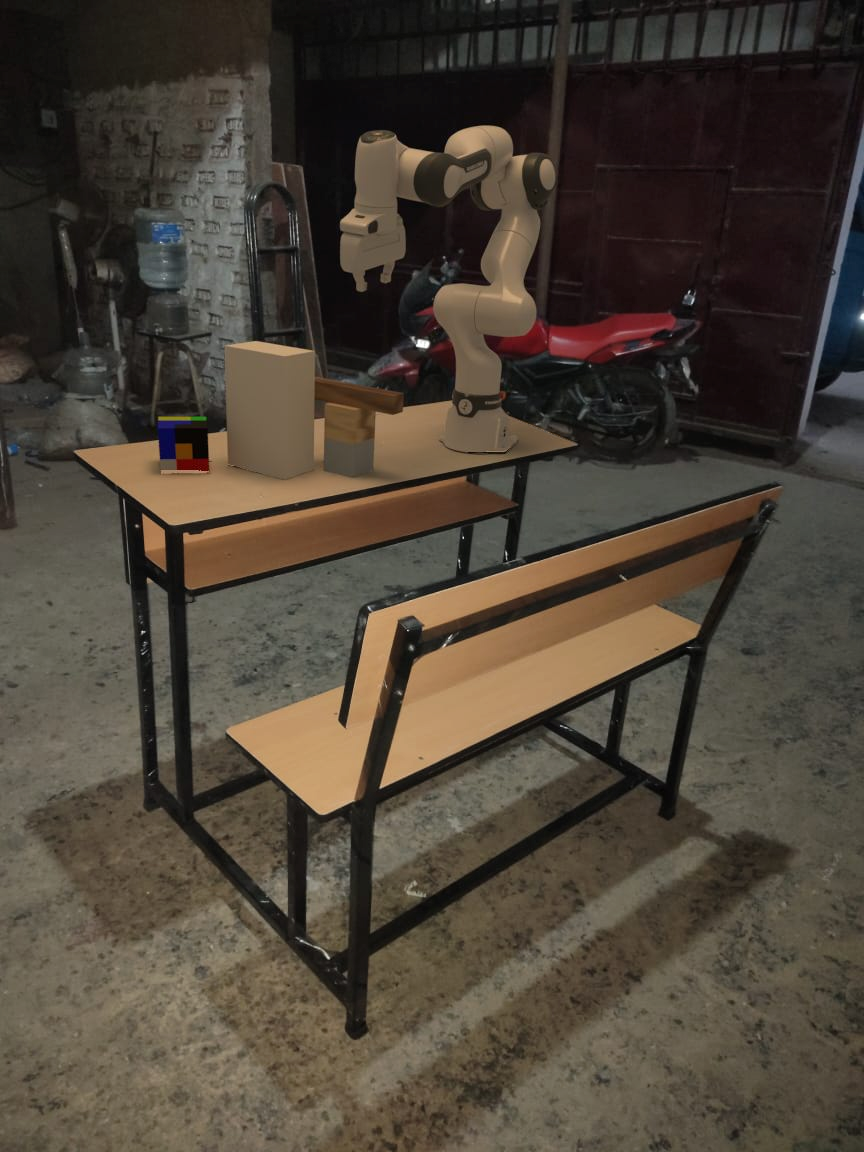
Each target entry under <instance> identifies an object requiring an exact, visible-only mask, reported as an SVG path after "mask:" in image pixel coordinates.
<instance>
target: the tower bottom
mask: <svg viewBox="0 0 864 1152" xmlns="http://www.w3.org/2000/svg"><path fill="white" fill-rule="evenodd" d="M374 453H375V438H372V439H369V440H366V441H363V442H360V443H357V444H350V443H345V442H341V441H336V440H332V439H327V438H324V437H323V471H324V472H328V473H333V474H336V475H340V476H343V477H344V476H345V477H347V478H348V477H349V478H352V479H354V478H357V477H359V476H362V475H364V474H366V473H367V474H368V473H370V472H372V471H373V470H374V465H375V464H374V461H375V454H374ZM371 470H372V471H371Z"/></svg>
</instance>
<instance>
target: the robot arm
mask: <svg viewBox="0 0 864 1152" xmlns="http://www.w3.org/2000/svg"><path fill="white" fill-rule="evenodd" d="M358 139H359V140H358V141H357V146H356V151H355V160H354V161H355V162H354V163H355V164H354V165H355V166H354V182H355V187H356V193H355V196H354V208H352V209H351V211H350V212H349V213H347V215H345V216H344V217H343V218H342V219H340V222H339V229H340V231H341V232H343V233H342V235H341V236H340V241H339V243H340V247H339V248H340V249H339V255H340V256H339V259H340V262H339V263H340V267H341V269H342V270H343V271H344V272H347V273H351V274H352V276H353V279H354V281H355V284H356V287H355V288H356V291H358V292H361V293H362V292H365V291H367V290H368V289H367V288H368V282H367V281H365V277H364V276H365V275H366V271H368V270H370V269H371V270H372V269H373V268H376V267H379V266H383V271H382V273H380V282H381V283H382V284H387V283H390V282H391V281H392V273H393V270H394V268H395V262H396V261H398V260H401V259H403V258H404V257H405V254H406V251H407V250H406V249H407V248H406V243H407V242H406V240H407V239H406V229H405V226H404V221H403V218H402V216H401V215H400V214H399V213H398V199H397V197H398V198H401V199H406V200H410V201H416V202H418V203H419V202H421V203H424V204H427V205H430V206H433V207H436V208H443V207H445V206H446V205H448V204H449V203H451V202H452V201H453V199H454V198H456V196H457V195H458V194H460V193H461V192H463V191H465V190H466V189H469V190H470V197H471V199H472V200H473V202H474V204H475V205H476V206H477V208H478V209H480V210H482V211H488V212H489V211H490V212H491V211H494V212H495V211H497V210H501V216H500V220H499V221H498V223H497V225H496V226H495V229H494V230H493V232H492V234H491V237H490V239H489V241H488V244H487V246H486V248H485V250H484V252H483V255H482V257H481V259H480V260H481V261H480V270H481V272H482V275H483V276H484V278H485V280H486V281H487V282H488V283H489V284H490V285H479V284H470V283H451V284H444V285H443V286H441V288H440V289H439V290H438V291H437V292H436V295H435V297H434V300H433V304H432V305H433V307H432V308H433V315H434V317H435V320H436V322H437V323H438V324H439V325H440V326H441V327H442V328H443V330H444V331H445V332H446V334H447V336H448V337H449V339H450V341H451V343H452V346H453V350H454V354H455V386H454V388H453V390H452V393H451V394H452V395H451V399H452V401H451V403H452V406H451V407H450V408H448V409H447V411H446V418H445V423H444V431H443V434H442V435H440V436H439V441H440V442H442V443H443V444H444V446H445V447H446V448H448V449H450V450H454V451H458V452H462V453H468V452H486V451H505V450H507V449H508V448H509V447H511V446H512V445H513V444H514V443H515V442H516V441H517V440H518V441H519V437H518V436H516V435H513V434H511V433H510V432H511V418H510V417H509V415H507V413H506V412H505V410H504V409H503V408H502V400H505V398H506V391H502V390H500V389H501V376H502V361H501V359H500V357H499V355H498V354H497V353H496V352H494V350H492V349H490V347H488V345H487V343H486V340H485V337H484V335H486V336H487V335H488V336H495V337H503V338H511V337H513V338H514V337H522V336H526V335H527V334H528V333H529V332H530V331H531V330H532V328H533V327H534V325H535V323H536V319H537V306H536V302H535V300H534V298H533V297H532V296H531V294H530V293H529V292H528V291H527V290H526V287H525V283H524V280H525V275H526V272H527V269H528V267H529V264H530V262H531V259H532V256H533V254H534V252H535V248H536V245H537V242H538V240H539V235H540V234H539V233H540V231H541V229H540V228H541V219H540V216H539V213H538V211H540V210H542V209H543V208H545V207H546V205H548V201H549V199H550V198H551V196H552V194H553V192H554V190H555V187H556V183H557V170H556V166H555V164H554V161H553V160H552V159H551V157H550V156H549V155H548V154H546V153H542V152H530V153H528V154H520V155H515V156H513V154H514V144H513V140H512V136H511V135H510V134H509V132H507V130H505V129H504V128H502V127H499V126H497V125H496V126H495V125H478V126H470V127H467V128H463V129H461V130H458V131H456V132H455V133H454V134H452V135H451V136H450V137H449V138H448V140H447V142H446V144H445V147H444V152H434V151H427V150H423V149H416V148H411V147H408V146H406V145H405V144H403V143H402V142H401V141H399V140H398V137H397V135H396V133H394V132H392V131H391V130H385V129H379V130H377V129H376V130H370V131H367V132H365V133H363V134H362V135H360V137H359V138H358ZM518 441H517V442H518ZM517 442H516V443H517ZM516 443H515V444H516ZM515 444H514V445H515ZM514 445H513V446H514ZM513 446H512V447H513ZM512 447H511V448H512Z"/></svg>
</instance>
